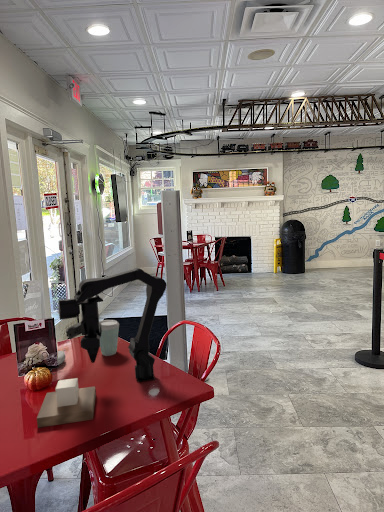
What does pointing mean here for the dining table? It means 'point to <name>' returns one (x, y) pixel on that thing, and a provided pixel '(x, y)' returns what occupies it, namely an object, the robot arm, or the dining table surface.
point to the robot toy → (61, 356)
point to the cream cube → (67, 392)
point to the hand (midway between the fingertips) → (93, 357)
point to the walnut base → (67, 409)
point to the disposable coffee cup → (109, 337)
